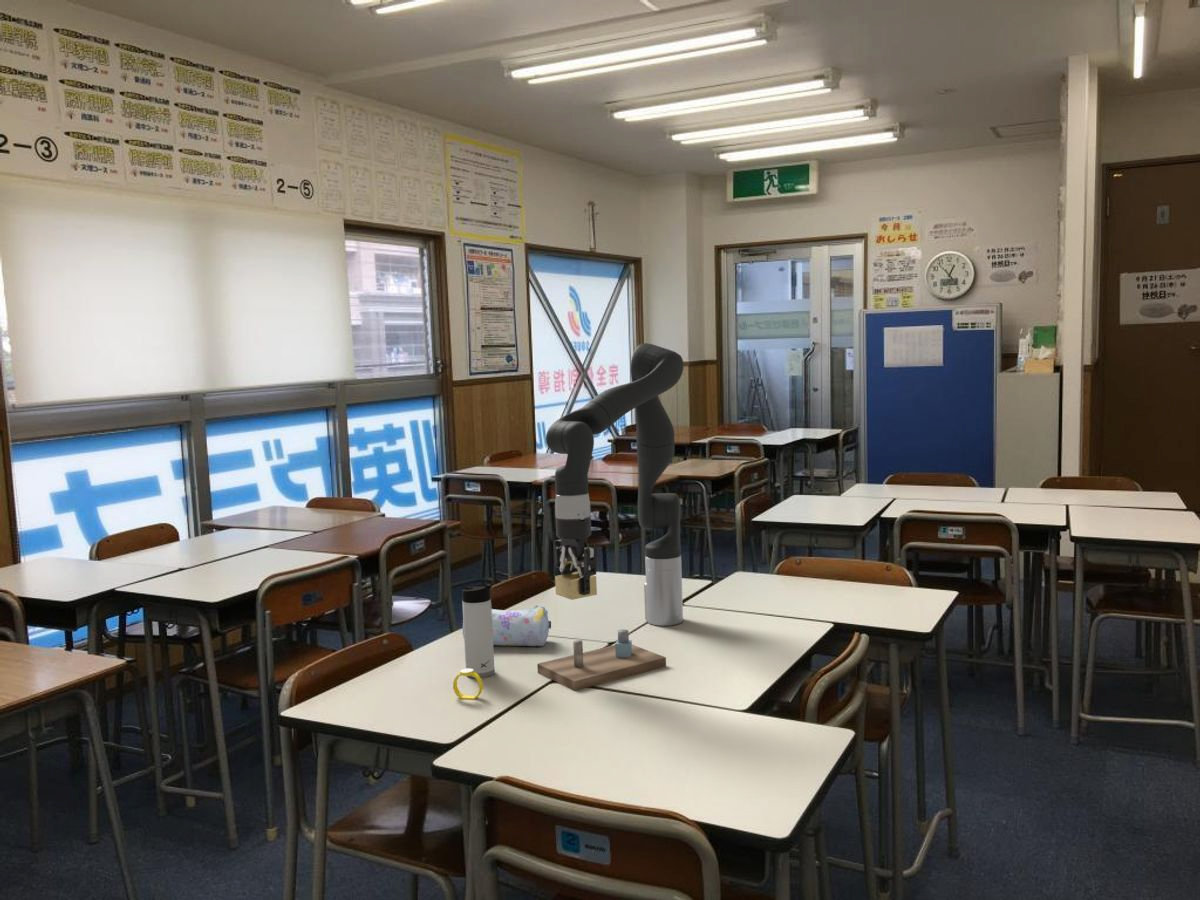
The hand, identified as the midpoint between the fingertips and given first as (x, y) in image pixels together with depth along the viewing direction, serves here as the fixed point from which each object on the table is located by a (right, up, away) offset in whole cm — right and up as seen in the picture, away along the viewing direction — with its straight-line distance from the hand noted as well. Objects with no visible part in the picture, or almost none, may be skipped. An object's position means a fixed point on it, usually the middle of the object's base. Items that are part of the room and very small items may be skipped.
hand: (576, 591), depth 205 cm
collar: (0, -1, 0) cm, 1 cm away
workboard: (+6, -18, +5) cm, 19 cm away
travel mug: (-21, -19, +5) cm, 29 cm away
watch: (-22, -21, -10) cm, 32 cm away
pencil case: (-17, -17, +26) cm, 36 cm away
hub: (+10, -15, +8) cm, 20 cm away
